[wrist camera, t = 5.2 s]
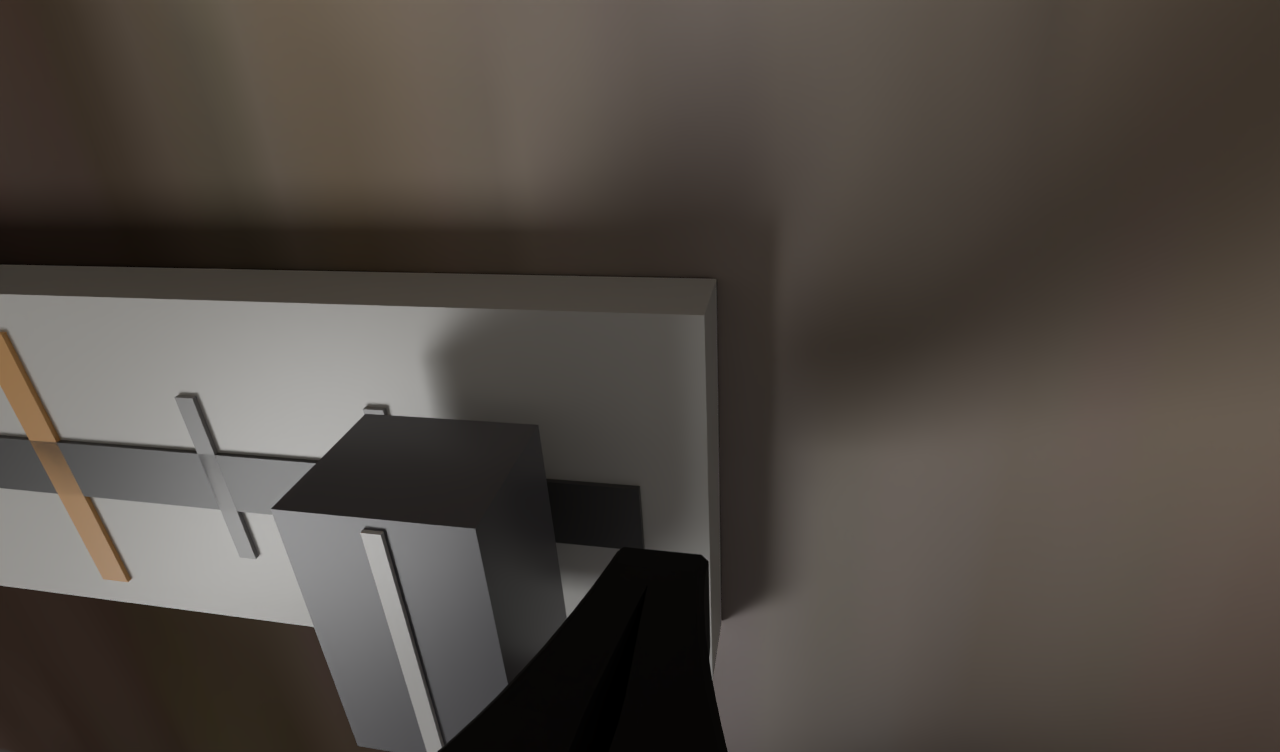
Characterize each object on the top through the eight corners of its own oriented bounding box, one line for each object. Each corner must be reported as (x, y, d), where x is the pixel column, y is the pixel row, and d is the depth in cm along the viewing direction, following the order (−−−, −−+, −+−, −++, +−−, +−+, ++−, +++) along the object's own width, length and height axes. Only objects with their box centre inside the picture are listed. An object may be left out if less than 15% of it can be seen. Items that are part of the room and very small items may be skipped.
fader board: (716, 278, 13) (703, 317, 11) (721, 623, 17) (712, 683, 15) (-176, 261, 17) (-264, 287, 16) (-9, 538, 21) (-67, 579, 19)
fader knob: (555, 395, 13) (473, 532, 10) (584, 614, 15) (525, 778, 12) (391, 386, 13) (267, 511, 10) (444, 597, 16) (355, 749, 13)
